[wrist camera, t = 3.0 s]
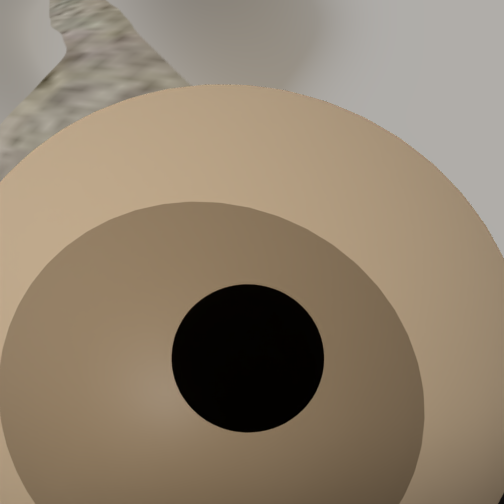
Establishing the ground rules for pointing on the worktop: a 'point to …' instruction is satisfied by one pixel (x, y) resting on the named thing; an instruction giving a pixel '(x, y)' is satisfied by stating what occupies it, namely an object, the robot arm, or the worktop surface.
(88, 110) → the worktop surface
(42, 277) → the beige tapered cylinder
